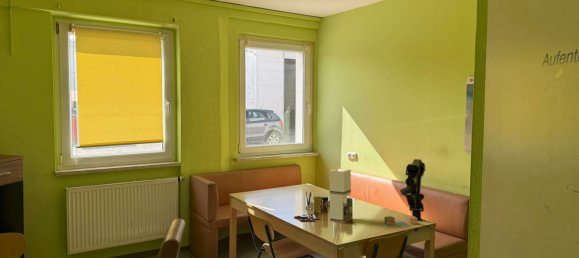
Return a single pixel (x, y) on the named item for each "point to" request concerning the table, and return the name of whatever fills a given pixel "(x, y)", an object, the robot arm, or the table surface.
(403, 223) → the plan board
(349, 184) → the cream tall block
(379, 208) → the table surface
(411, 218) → the terracotta cube
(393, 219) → the walnut cube
